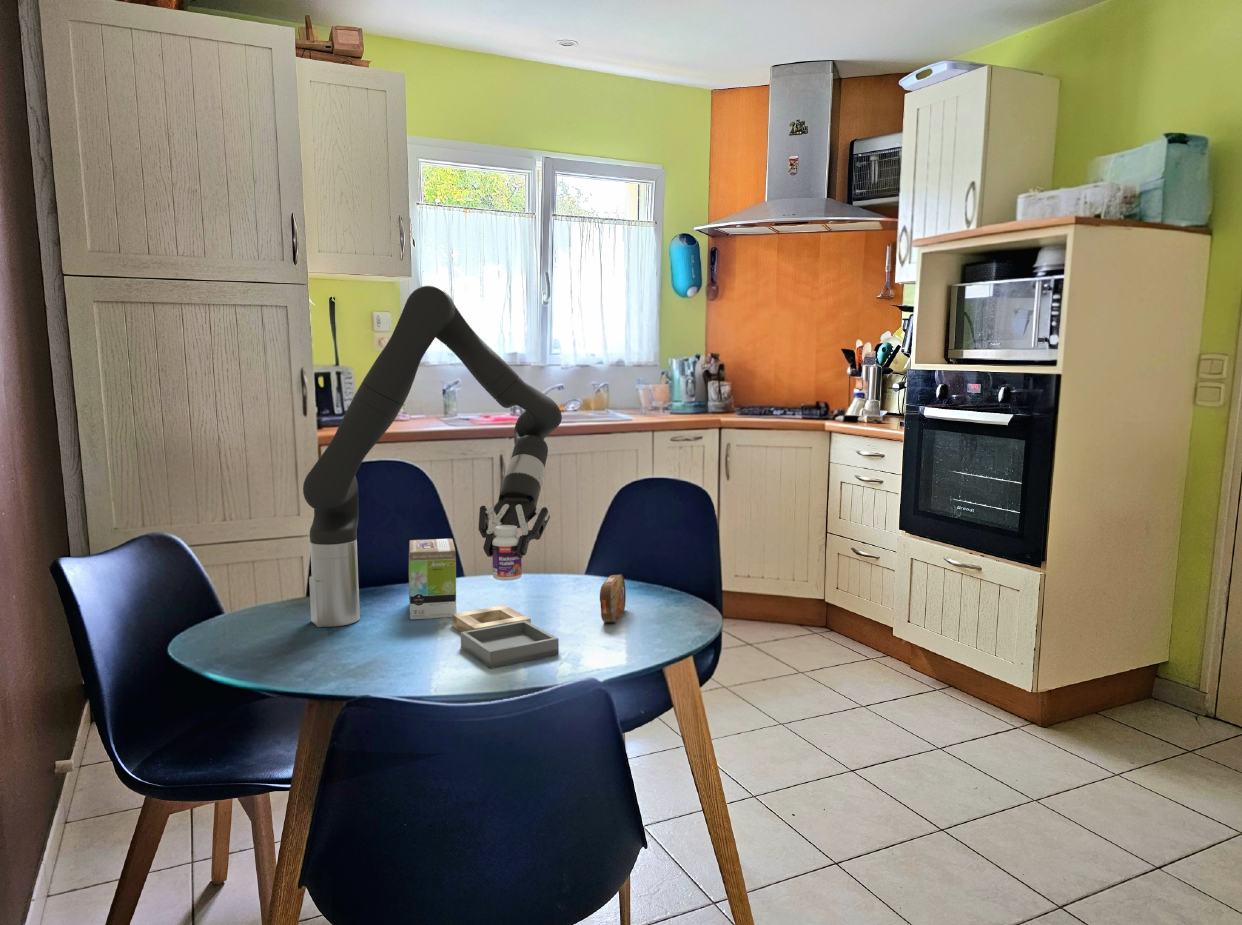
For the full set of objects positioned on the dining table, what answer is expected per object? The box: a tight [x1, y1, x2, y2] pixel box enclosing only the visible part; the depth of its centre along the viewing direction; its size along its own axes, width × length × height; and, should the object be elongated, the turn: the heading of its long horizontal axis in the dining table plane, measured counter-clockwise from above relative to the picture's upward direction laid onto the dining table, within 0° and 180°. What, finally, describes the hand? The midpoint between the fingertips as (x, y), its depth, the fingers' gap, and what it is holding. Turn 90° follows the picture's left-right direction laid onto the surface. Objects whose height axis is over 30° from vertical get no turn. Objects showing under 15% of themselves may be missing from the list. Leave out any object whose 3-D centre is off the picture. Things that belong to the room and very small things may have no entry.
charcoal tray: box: [460, 621, 560, 670], centre depth 153 cm, size 14×14×3 cm
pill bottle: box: [491, 525, 523, 582], centre depth 154 cm, size 5×5×10 cm
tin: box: [599, 574, 627, 624], centre depth 175 cm, size 15×3×8 cm, turn 168°
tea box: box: [408, 538, 457, 620], centre depth 181 cm, size 15×10×15 cm, turn 14°
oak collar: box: [451, 604, 532, 633], centre depth 167 cm, size 12×12×2 cm
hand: (503, 554), depth 152 cm, fingers closed on pill bottle, 5 cm apart
